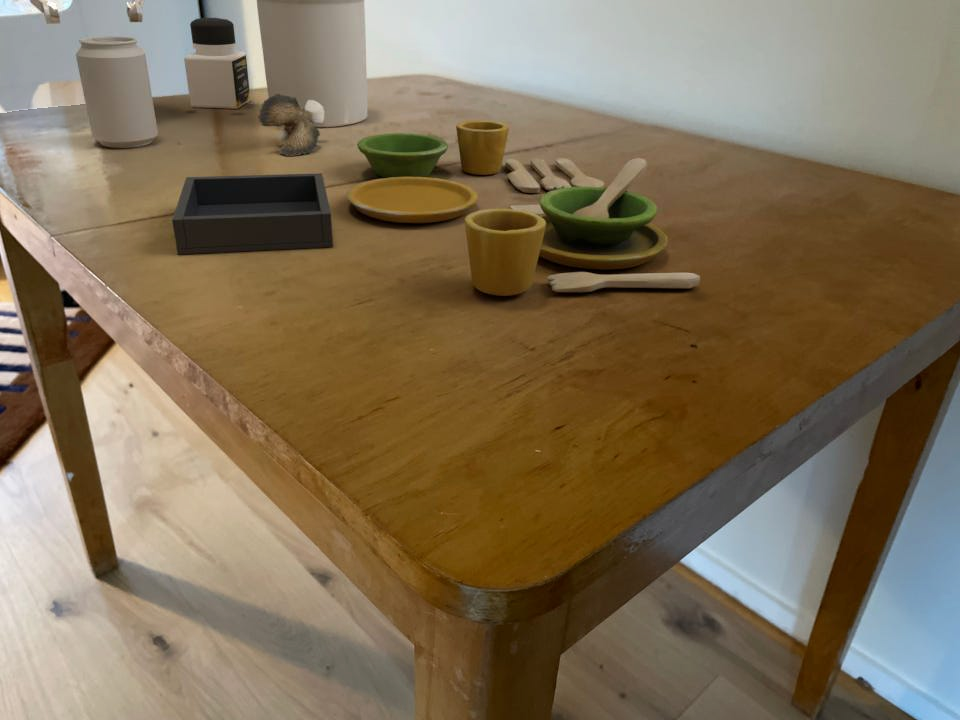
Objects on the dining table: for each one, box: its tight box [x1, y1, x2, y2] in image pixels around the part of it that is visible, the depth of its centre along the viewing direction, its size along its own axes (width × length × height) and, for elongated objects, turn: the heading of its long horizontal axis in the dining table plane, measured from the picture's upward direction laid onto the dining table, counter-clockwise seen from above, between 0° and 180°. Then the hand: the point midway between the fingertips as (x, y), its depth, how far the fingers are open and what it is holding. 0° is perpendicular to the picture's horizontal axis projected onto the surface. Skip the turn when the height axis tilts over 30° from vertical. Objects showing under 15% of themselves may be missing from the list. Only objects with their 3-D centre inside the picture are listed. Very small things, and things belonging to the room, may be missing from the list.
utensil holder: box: [256, 0, 368, 128], centre depth 108 cm, size 15×15×18 cm
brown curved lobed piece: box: [257, 94, 325, 157], centre depth 96 cm, size 8×7×9 cm
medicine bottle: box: [183, 17, 251, 110], centre depth 116 cm, size 7×7×12 cm
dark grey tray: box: [171, 172, 334, 256], centre depth 70 cm, size 13×13×3 cm
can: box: [75, 35, 159, 149], centre depth 93 cm, size 8×8×12 cm
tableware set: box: [345, 119, 701, 297], centre depth 74 cm, size 41×28×6 cm
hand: (95, 19), depth 96 cm, fingers open, 8 cm apart
